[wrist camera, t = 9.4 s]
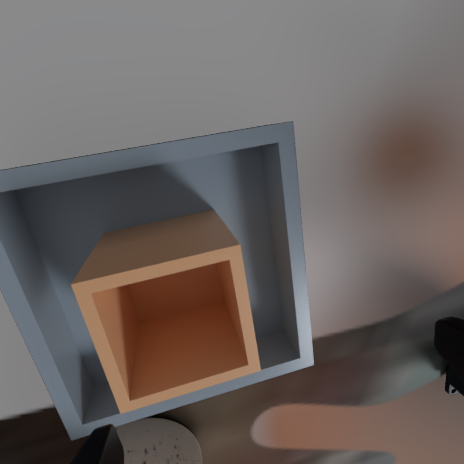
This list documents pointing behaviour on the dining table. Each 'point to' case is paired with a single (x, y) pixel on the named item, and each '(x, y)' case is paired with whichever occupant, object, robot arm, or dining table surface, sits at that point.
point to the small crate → (168, 308)
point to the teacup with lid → (158, 442)
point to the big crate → (139, 213)
